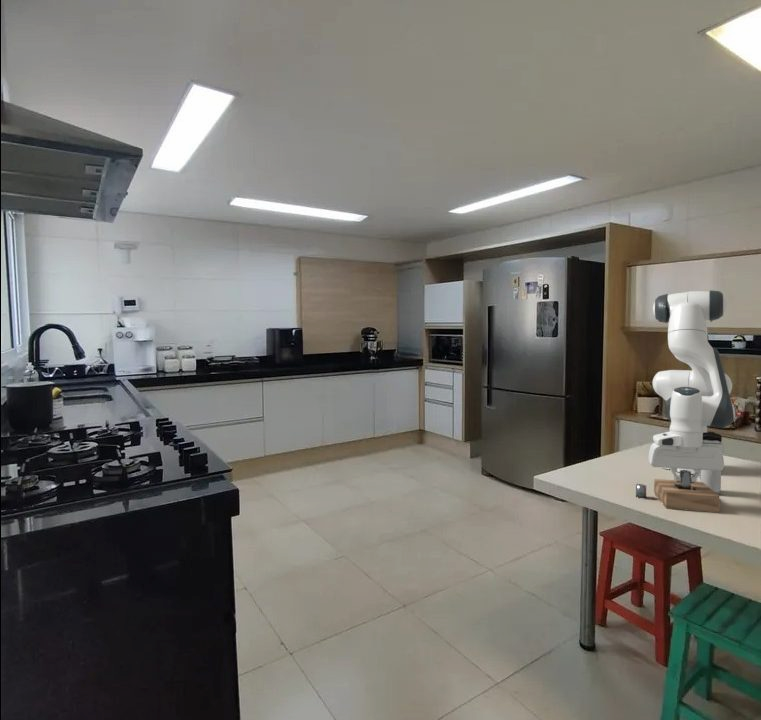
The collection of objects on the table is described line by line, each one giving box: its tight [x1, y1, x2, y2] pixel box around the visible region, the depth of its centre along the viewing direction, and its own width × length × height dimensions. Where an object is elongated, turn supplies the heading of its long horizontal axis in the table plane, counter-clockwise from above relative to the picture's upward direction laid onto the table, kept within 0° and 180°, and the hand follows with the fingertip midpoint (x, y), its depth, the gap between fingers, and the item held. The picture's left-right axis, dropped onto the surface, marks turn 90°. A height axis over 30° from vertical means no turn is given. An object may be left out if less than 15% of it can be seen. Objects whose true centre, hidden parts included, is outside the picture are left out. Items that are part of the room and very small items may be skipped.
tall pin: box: [679, 470, 692, 490], centre depth 149 cm, size 3×3×9 cm
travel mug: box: [697, 431, 723, 496], centre depth 158 cm, size 6×7×20 cm
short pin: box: [635, 483, 647, 499], centre depth 155 cm, size 3×3×4 cm
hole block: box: [653, 478, 720, 513], centre depth 150 cm, size 14×14×5 cm
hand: (685, 482), depth 149 cm, fingers closed on tall pin, 3 cm apart
